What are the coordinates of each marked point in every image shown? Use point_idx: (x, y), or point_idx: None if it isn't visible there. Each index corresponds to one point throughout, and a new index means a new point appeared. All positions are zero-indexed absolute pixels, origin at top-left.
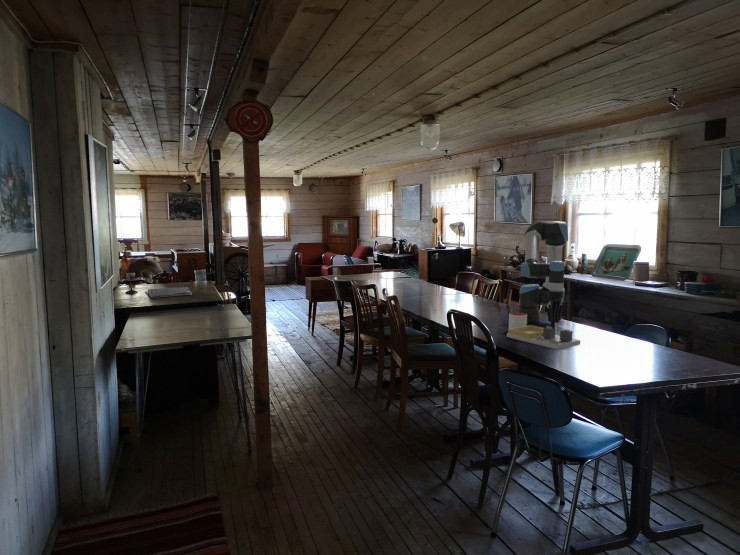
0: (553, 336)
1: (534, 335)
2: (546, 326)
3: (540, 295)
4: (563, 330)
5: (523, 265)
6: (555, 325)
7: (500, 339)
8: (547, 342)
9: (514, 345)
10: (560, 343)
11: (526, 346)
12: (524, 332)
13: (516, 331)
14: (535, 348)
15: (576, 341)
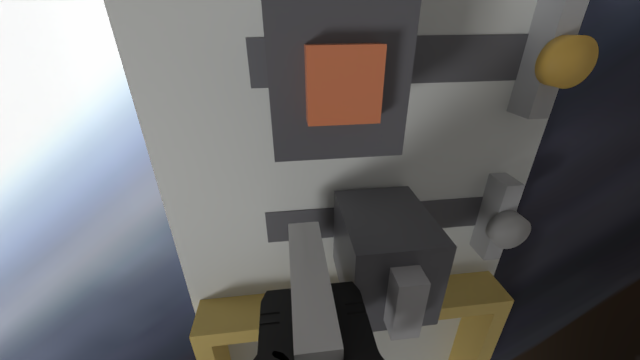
0: (361, 200)
1: (451, 290)
2: (419, 333)
3: None
4: (354, 133)
5: None
6: (332, 308)
7: (518, 349)
8: (526, 121)
9: (617, 237)
10: (481, 11)
11: (602, 187)
12: (490, 345)
13: None
14: (630, 113)
15: None
